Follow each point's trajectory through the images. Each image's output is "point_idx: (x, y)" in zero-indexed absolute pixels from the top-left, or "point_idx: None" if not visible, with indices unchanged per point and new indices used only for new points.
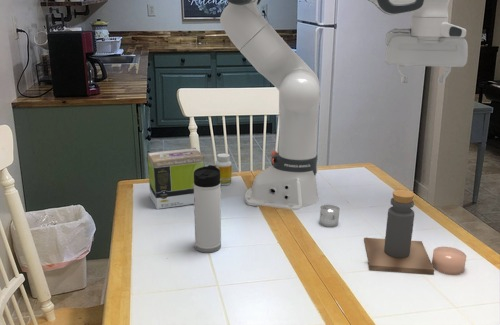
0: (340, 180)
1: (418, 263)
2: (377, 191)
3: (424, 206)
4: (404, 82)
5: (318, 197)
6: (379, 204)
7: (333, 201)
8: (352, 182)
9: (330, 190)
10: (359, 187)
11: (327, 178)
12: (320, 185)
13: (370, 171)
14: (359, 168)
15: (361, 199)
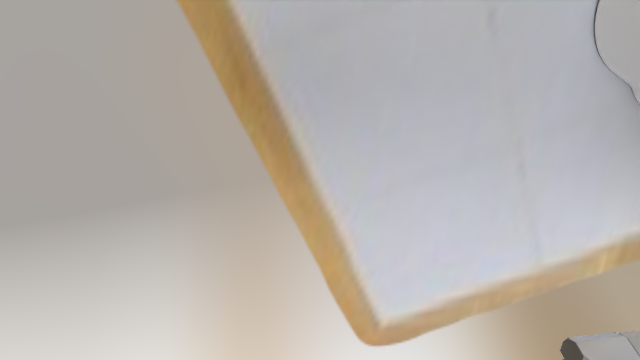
0: (477, 207)
1: None
2: (366, 139)
3: (210, 33)
4: (607, 336)
5: (608, 5)
6: (376, 18)
7: (543, 12)
8: (440, 198)
9: (531, 114)
10: (424, 161)
11: (518, 214)
12: (555, 151)
13: (365, 297)
14: (397, 312)
15: (436, 53)
